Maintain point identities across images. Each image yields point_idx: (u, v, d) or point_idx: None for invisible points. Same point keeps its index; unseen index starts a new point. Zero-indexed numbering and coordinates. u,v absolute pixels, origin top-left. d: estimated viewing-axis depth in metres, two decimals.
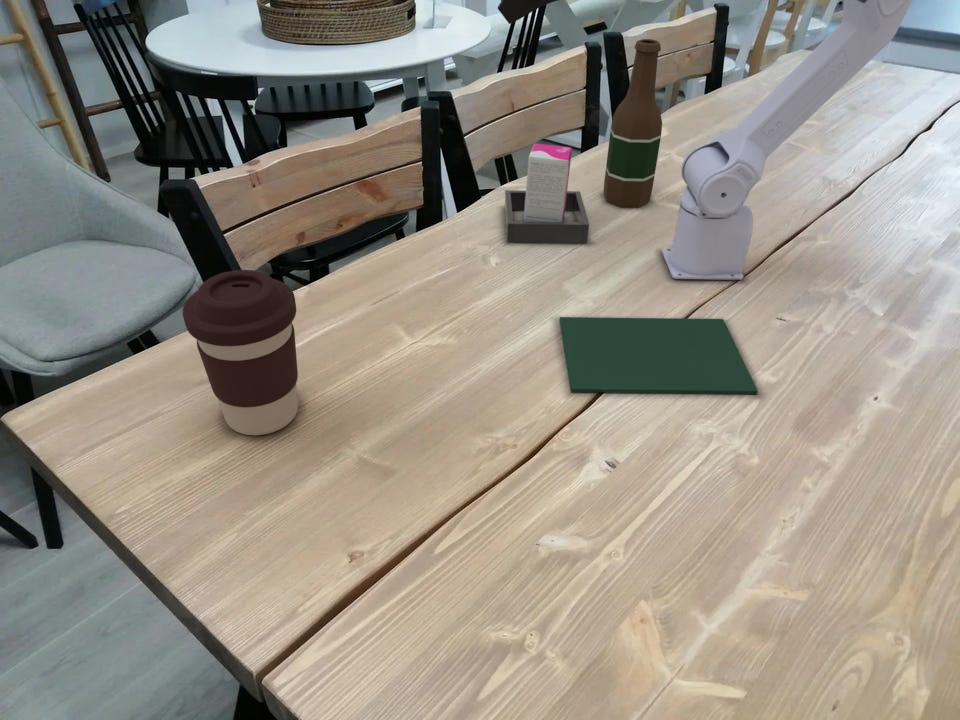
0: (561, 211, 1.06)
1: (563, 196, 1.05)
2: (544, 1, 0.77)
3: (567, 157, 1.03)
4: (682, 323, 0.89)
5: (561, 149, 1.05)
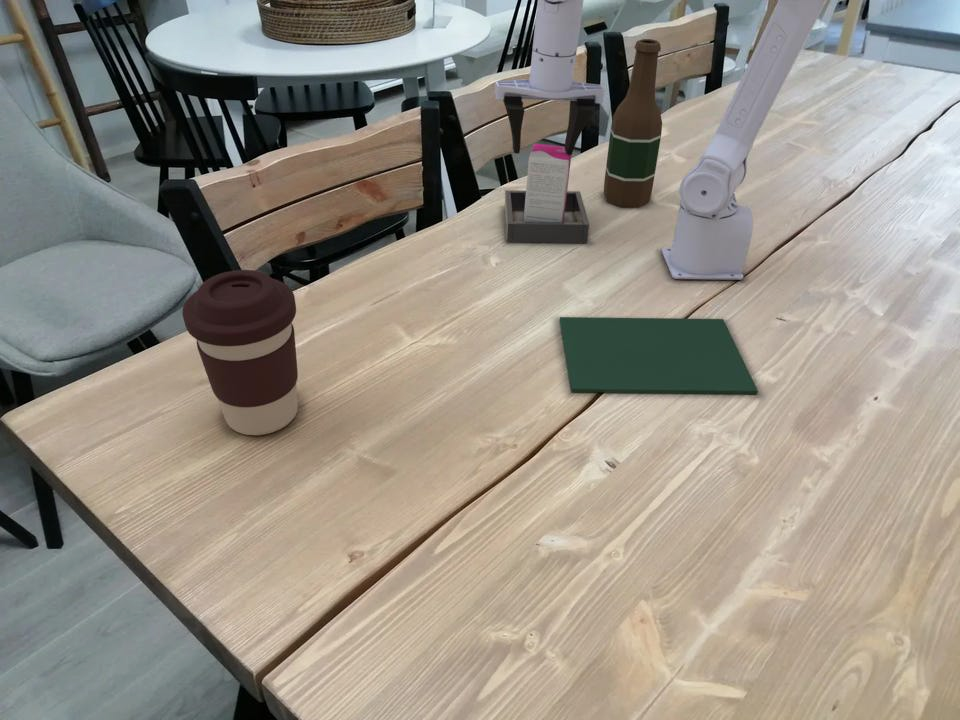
0: (561, 211, 1.06)
1: (563, 196, 1.05)
2: (510, 124, 1.00)
3: (567, 157, 1.03)
4: (682, 323, 0.89)
5: (561, 149, 1.05)
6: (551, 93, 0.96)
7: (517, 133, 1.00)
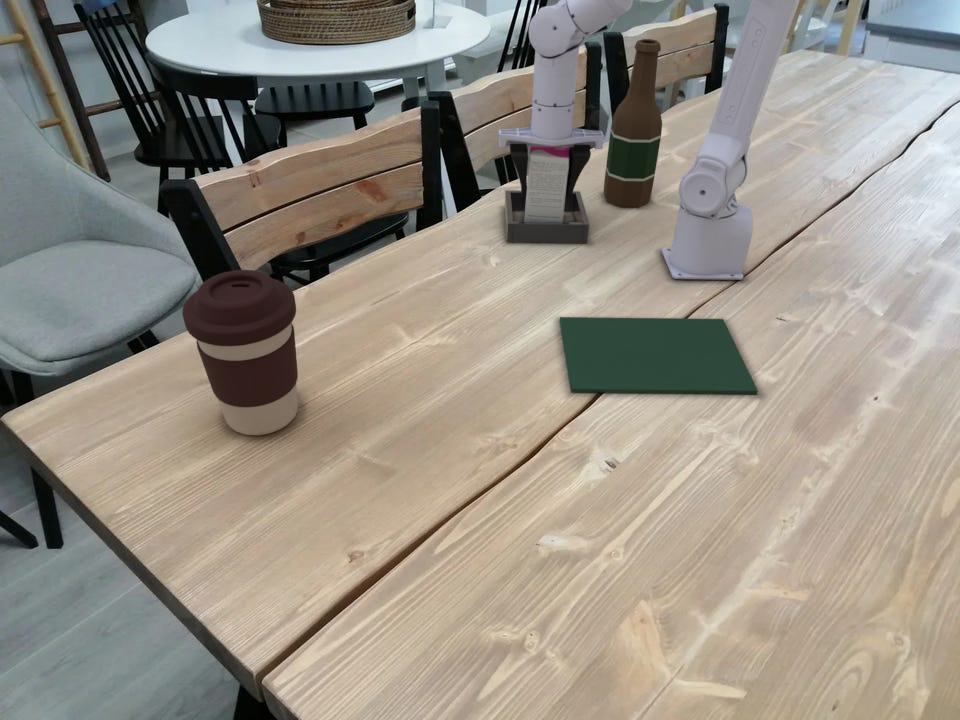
0: (562, 209, 1.07)
1: (564, 194, 1.06)
2: None
3: (567, 155, 1.04)
4: (682, 323, 0.89)
5: (559, 147, 1.06)
6: (550, 141, 1.01)
7: (523, 178, 1.05)
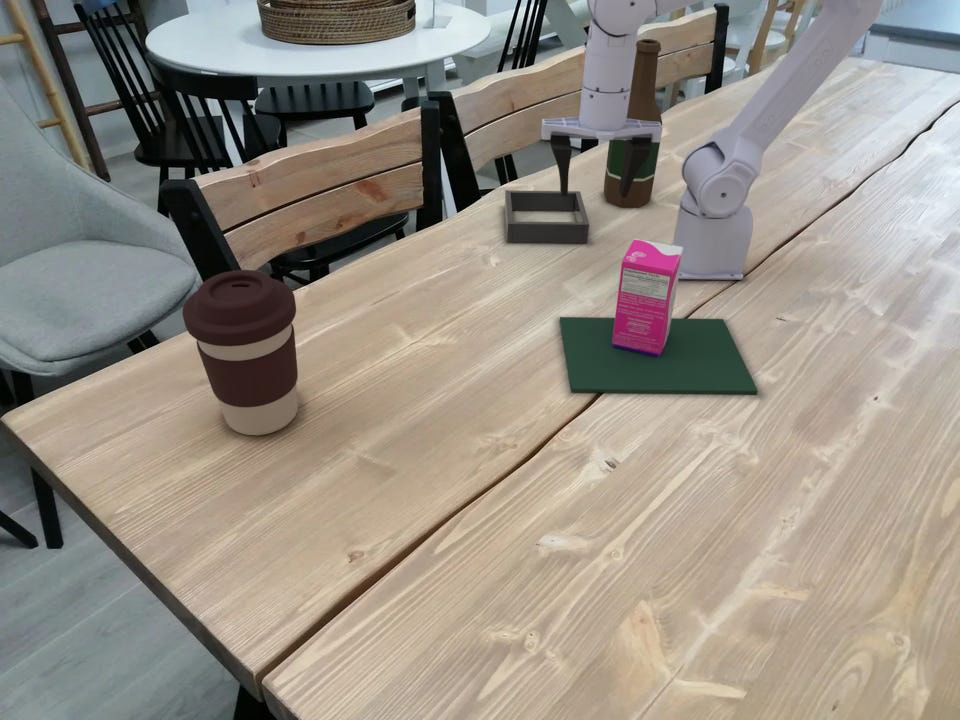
0: None
1: None
2: None
3: (633, 243, 0.81)
4: (682, 323, 0.89)
5: (638, 256, 0.79)
6: None
7: None
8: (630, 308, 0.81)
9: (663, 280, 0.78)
